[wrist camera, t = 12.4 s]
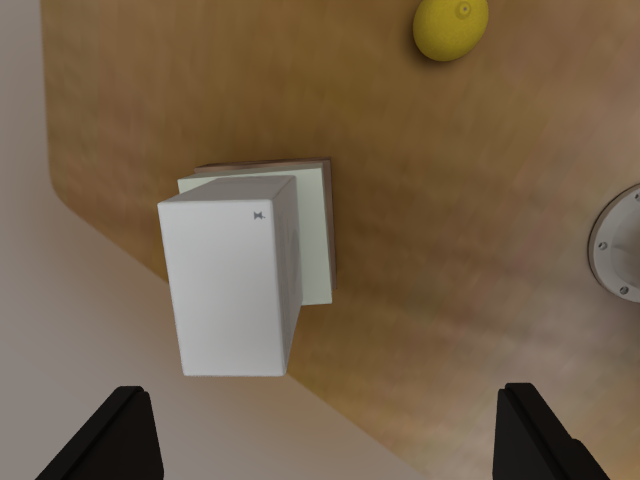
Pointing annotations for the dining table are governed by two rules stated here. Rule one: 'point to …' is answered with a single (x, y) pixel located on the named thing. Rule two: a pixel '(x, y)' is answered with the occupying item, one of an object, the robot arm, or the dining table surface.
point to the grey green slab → (310, 222)
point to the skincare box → (234, 274)
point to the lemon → (449, 27)
